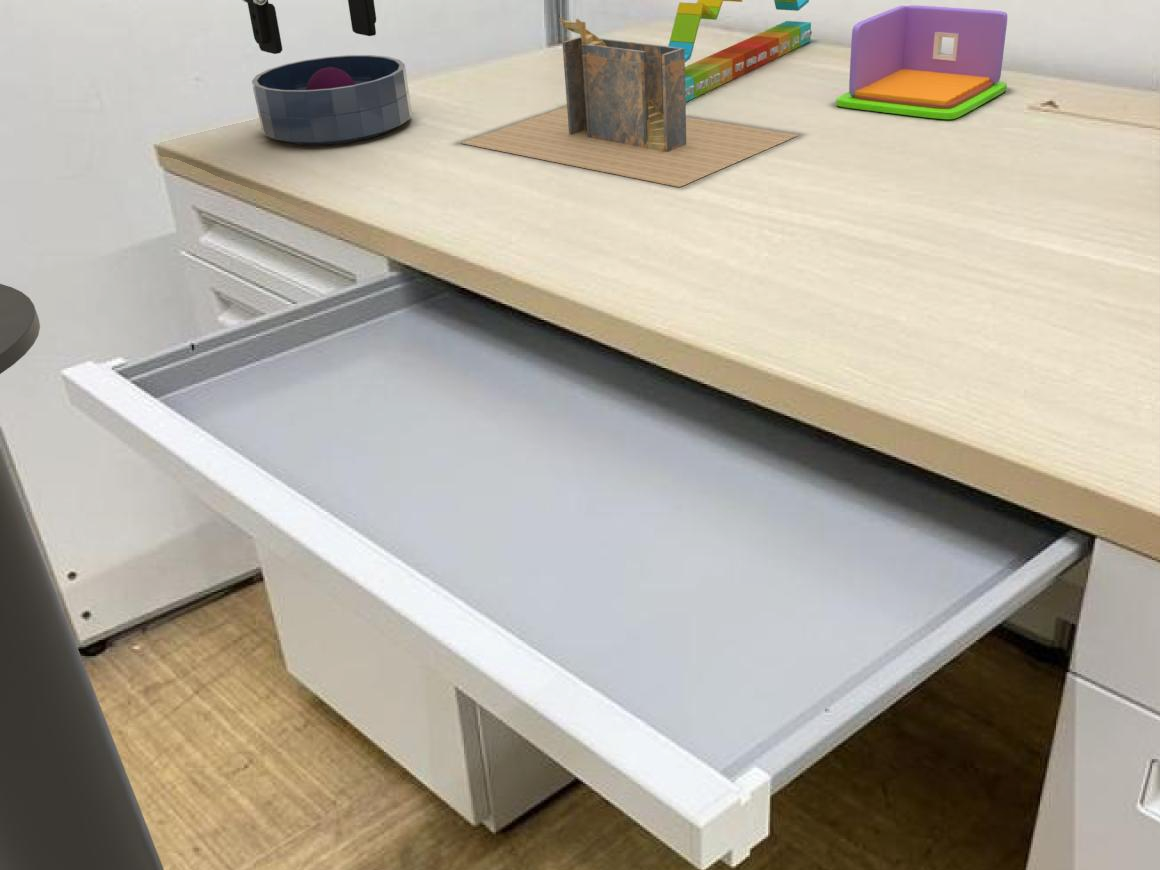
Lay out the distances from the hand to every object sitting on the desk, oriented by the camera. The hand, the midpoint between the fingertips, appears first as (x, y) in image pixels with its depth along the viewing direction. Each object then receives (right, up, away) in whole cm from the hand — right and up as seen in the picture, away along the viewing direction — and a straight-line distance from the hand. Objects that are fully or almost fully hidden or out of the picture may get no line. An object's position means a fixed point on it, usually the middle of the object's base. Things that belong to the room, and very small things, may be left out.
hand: (319, 42), depth 113 cm
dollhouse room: (+55, -5, +1) cm, 55 cm away
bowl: (+1, -6, +5) cm, 8 cm away
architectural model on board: (+28, -11, -4) cm, 30 cm away
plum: (+1, -3, +3) cm, 5 cm away
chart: (+39, +3, +13) cm, 41 cm away
